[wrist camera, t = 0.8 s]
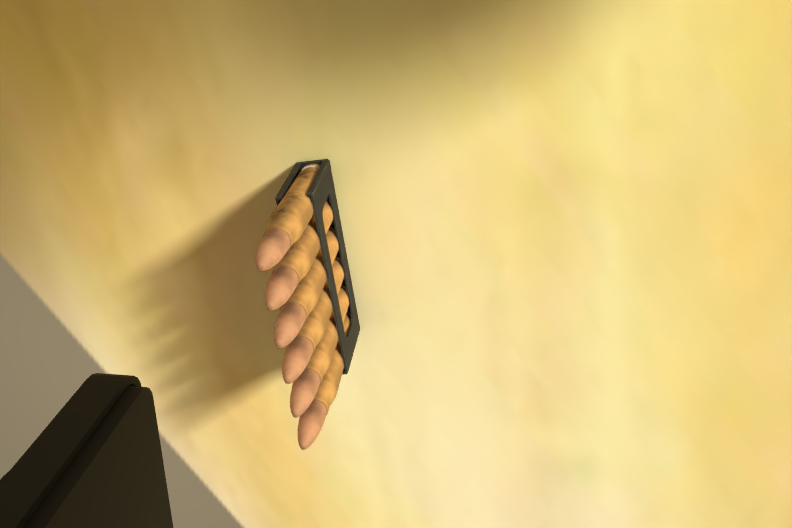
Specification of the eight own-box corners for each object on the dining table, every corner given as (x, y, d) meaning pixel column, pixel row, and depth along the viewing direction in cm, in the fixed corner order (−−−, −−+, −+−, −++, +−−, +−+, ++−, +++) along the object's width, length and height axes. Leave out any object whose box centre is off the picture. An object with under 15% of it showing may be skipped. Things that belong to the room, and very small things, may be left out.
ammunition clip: (360, 331, 43) (327, 464, 32) (330, 333, 43) (286, 466, 32) (329, 158, 39) (278, 244, 28) (295, 162, 39) (232, 248, 28)
